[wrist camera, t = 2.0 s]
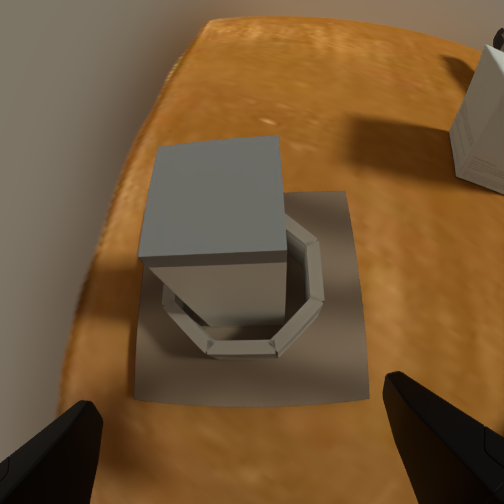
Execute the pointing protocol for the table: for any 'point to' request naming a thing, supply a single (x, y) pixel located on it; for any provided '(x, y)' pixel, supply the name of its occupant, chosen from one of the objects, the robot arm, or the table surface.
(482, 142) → the supplement box
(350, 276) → the ring stand
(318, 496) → the table surface
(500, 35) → the gun
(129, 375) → the table surface
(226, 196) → the link block
